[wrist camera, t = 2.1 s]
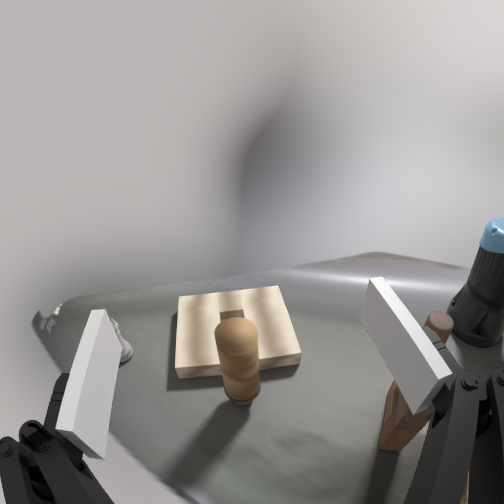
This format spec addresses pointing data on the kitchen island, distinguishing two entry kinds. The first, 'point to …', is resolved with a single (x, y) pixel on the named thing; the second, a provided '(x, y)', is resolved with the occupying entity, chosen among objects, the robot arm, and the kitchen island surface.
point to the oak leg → (239, 358)
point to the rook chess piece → (127, 348)
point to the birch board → (228, 306)
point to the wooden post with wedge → (397, 410)
